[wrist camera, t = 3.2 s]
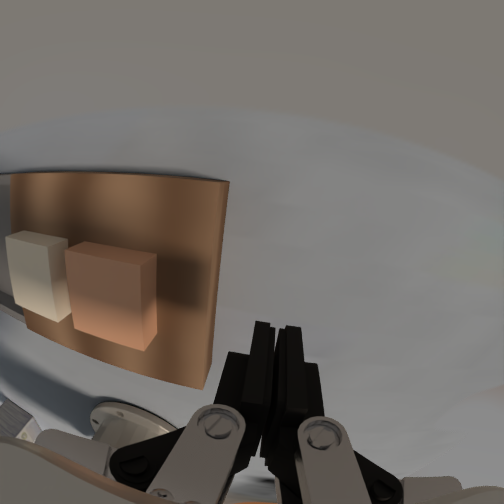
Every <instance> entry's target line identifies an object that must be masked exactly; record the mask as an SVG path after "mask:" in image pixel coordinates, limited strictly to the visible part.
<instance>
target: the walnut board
mask: <svg viewBox="0 0 504 504" xmlns="http://www.w3.org/2000/svg"><path fill="white" fill-rule="evenodd" d="M229 183H230V181H221V180H212V179H202V178H192V177H181V176H169V175H155V174H139V173H118V172H80V171H55V172H29V173H18V174H11V177H10V221H11V234H14V233H18V232H21V231H24V230H25V231H30V232H35V233H40V234H45V235H50V236H55V237H60V238H66V239H68V248H70V247H72V246H75V245H77V244H79V243H82V242H84V241H86V242H92V243H97V244H103V245H109V246H114V247H120V248H126V249H131V250H137V251H143V252H149V253H155V254H157V268H156V309H157V334H156V336H155V337H154V338H153V340H152V341H151V343H150V344H149V345H148V347H147V348H146V350H145V351H141V350H137V349H134V348H131V347H127V346H124V345H121V344H118V343H114V342H111V341H108V340H105V339H102V338H99V337H96V336H94V335H91V334H88V333H85V332H83V331H80V330H77V329H75V328H74V323H73V318H72V312H71V313H70V314H69V315H67V316H66V317H65V318H64V319H62V320H61V321H60V322H55V321H53V320H51V319H48V318H46V317H44V316H41V315H39V314H37V313H35V312H32V311H30V310H28V309H26V308H24V307H22V309H23V313H24V317H25V321H26V325H27V328H28V329H30V330H32V331H34V332H36V333H38V334H40V335H42V336H44V337H46V338H48V339H50V340H52V341H54V342H56V343H58V344H61V345H63V346H65V347H67V348H70V349H72V350H75V351H77V352H79V353H82V354H84V355H87V356H89V357H92V358H94V359H97V360H100V361H102V362H105V363H108V364H111V365H114V366H117V367H119V368H122V369H125V370H129V371H132V372H135V373H138V374H141V375H145V376H148V377H152V378H155V379H159V380H162V381H166V382H170V383H174V384H178V385H182V386H186V387H191V388H195V389H200V390H203V388H204V385H205V382H206V379H207V376H208V373H209V370H210V367H211V364H212V350H213V338H214V325H215V314H216V302H217V291H218V281H219V271H220V261H221V251H222V242H223V233H224V224H225V216H226V207H227V199H228V191H229Z"/></svg>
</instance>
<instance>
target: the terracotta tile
mask: <svg viewBox="0 0 504 504" xmlns="http://www.w3.org/2000/svg"><path fill="white" fill-rule="evenodd" d="M64 252H65V265H66V275H67V284H68V292H69V299H70V306H71V312H72V318H73V323H74V328H75V329H77V330H80V331H83V332H85V333H88V334H91V335H94V336H96V337H99V338H102V339H105V340H108V341H111V342H114V343H118V344H121V345H124V346H127V347H131V348H134V349H137V350H141V351H145V350H146V348H147V347H148V345H149V344H150V343H151V341H152V340H153V338H154V337H155V336H156V334H157V309H156V268H157V254H155V253H149V252H143V251H137V250H131V249H126V248H120V247H114V246H109V245H103V244H97V243H92V242H86V241H84V242H82V243H79V244H77V245H75V246H72V247H70V248H67V249H65V250H64Z"/></svg>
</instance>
